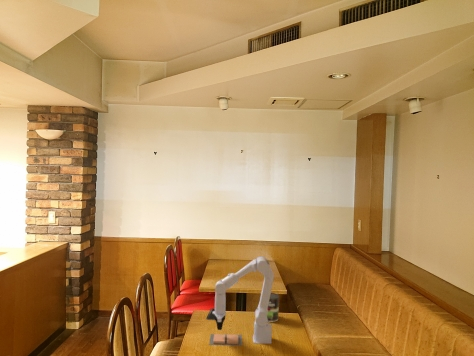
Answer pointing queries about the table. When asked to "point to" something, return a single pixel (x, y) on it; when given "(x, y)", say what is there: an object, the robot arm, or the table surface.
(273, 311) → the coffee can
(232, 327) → the table surface
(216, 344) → the mat
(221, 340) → the tile
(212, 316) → the phone
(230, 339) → the tile
